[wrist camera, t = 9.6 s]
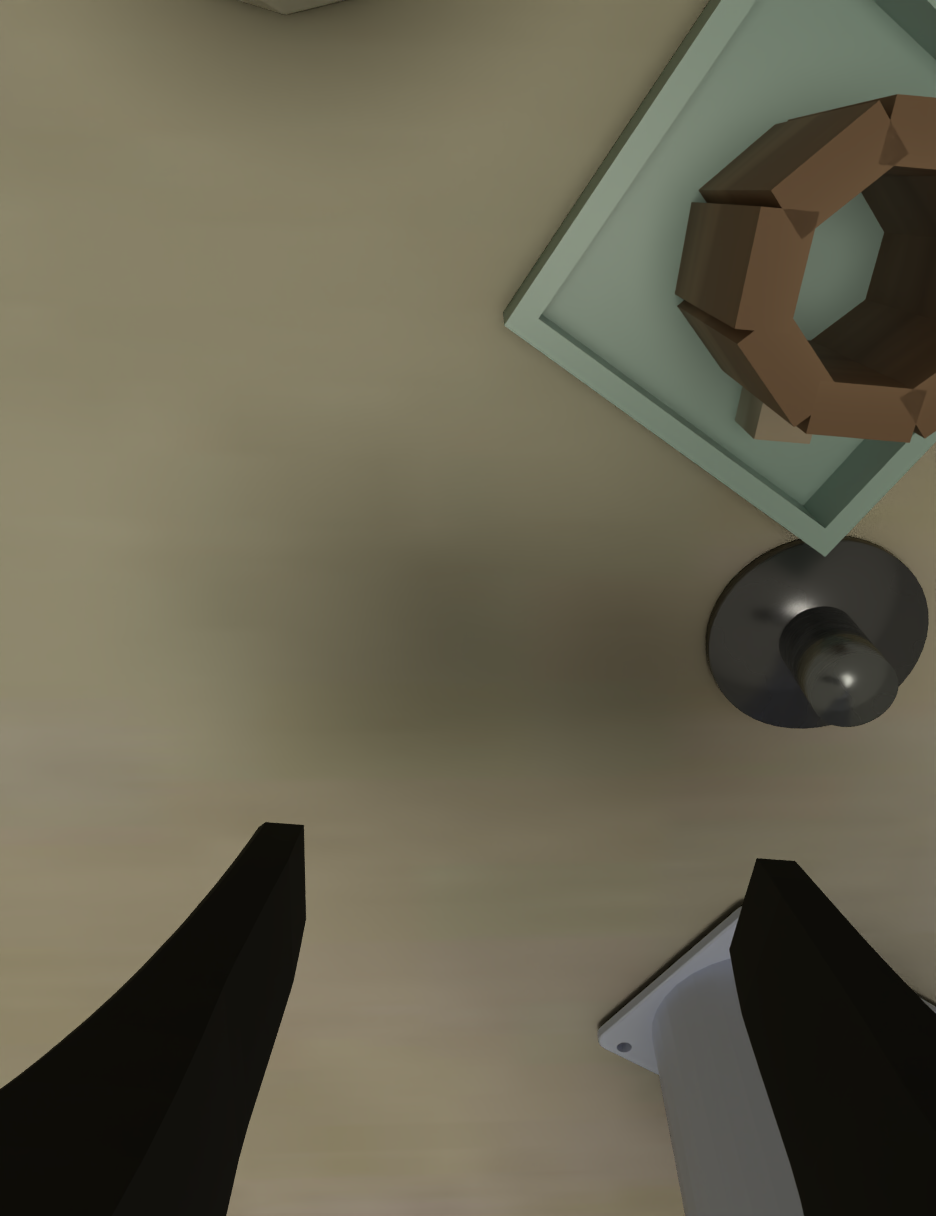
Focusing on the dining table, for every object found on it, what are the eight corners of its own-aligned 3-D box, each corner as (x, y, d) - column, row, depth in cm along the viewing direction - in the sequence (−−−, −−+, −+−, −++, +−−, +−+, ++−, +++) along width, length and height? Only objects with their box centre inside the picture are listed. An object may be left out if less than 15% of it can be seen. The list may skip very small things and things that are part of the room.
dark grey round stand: (967, 609, 22) (1031, 666, 19) (813, 752, 24) (852, 820, 21) (811, 493, 20) (856, 538, 18) (662, 655, 23) (684, 715, 20)
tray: (1103, 192, 17) (1174, 193, 16) (796, 525, 21) (825, 556, 19) (786, -115, 15) (824, -154, 13) (503, 312, 19) (504, 325, 17)
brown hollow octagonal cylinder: (707, 112, 16) (787, 84, 12) (957, 135, 17) (1129, 114, 12) (652, 413, 19) (701, 481, 15) (867, 432, 19) (980, 505, 15)
